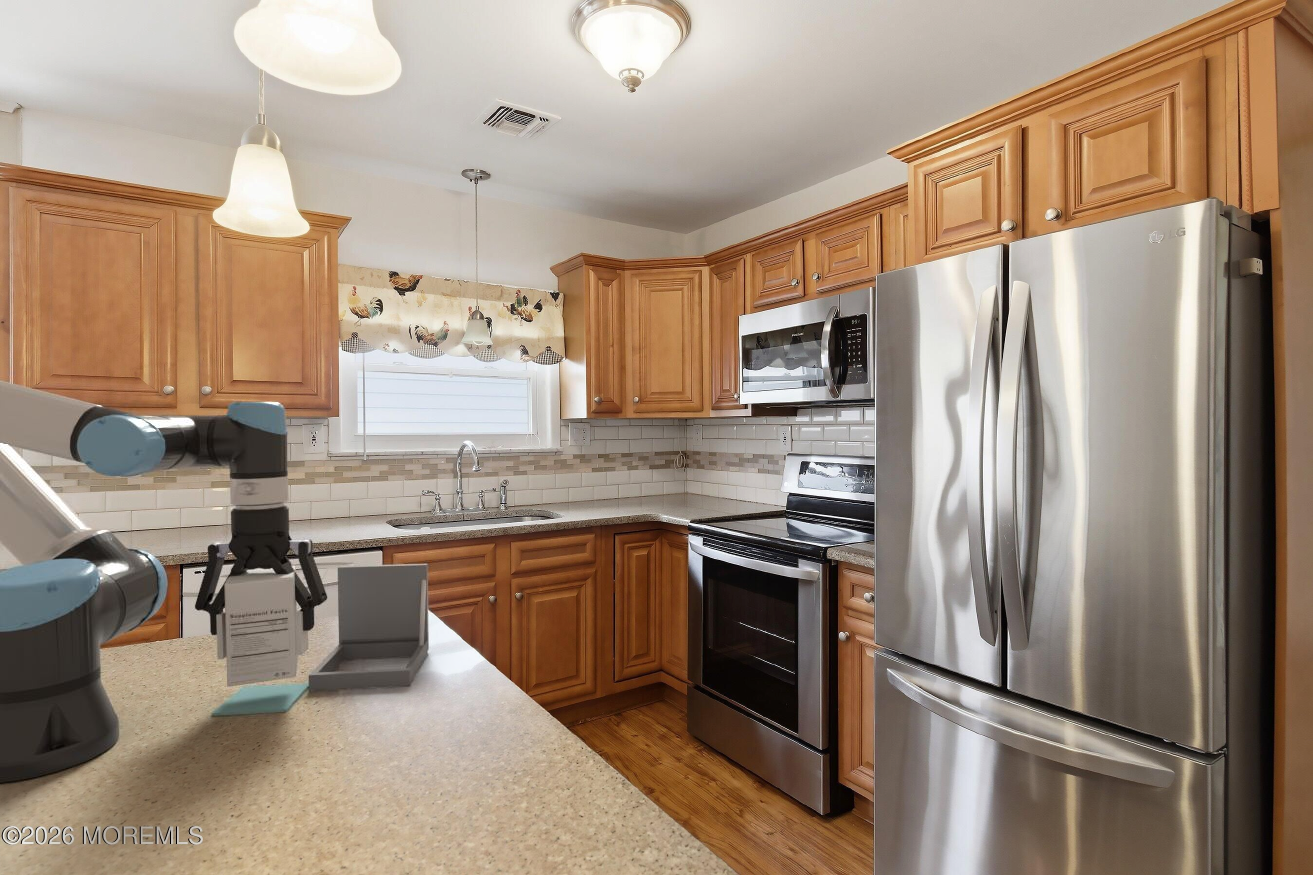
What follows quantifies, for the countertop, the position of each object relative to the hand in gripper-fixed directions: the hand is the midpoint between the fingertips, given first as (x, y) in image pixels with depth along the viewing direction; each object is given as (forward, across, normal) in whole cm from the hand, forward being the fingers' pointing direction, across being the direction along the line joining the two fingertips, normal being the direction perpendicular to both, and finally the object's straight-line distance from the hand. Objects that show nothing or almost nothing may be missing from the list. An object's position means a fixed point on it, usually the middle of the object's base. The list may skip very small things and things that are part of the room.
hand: (263, 653), depth 105 cm
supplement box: (+3, 0, 0) cm, 3 cm away
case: (+7, +13, +10) cm, 18 cm away
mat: (+7, 0, 0) cm, 7 cm away
